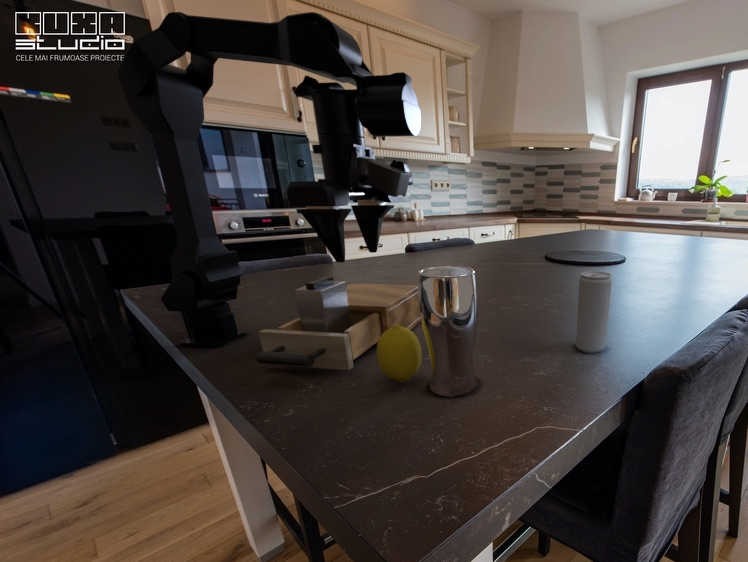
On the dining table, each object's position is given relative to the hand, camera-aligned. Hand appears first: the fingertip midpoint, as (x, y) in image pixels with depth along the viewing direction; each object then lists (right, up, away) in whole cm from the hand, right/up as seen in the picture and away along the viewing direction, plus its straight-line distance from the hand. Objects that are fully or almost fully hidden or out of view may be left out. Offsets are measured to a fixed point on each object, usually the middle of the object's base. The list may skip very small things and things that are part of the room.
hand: (358, 256), depth 58 cm
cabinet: (-3, -10, +14) cm, 18 cm away
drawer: (-5, -14, +1) cm, 15 cm away
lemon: (+8, -18, -5) cm, 20 cm away
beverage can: (+35, -14, +6) cm, 38 cm away
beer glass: (+15, -18, -6) cm, 24 cm away
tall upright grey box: (-5, -13, +2) cm, 14 cm away
